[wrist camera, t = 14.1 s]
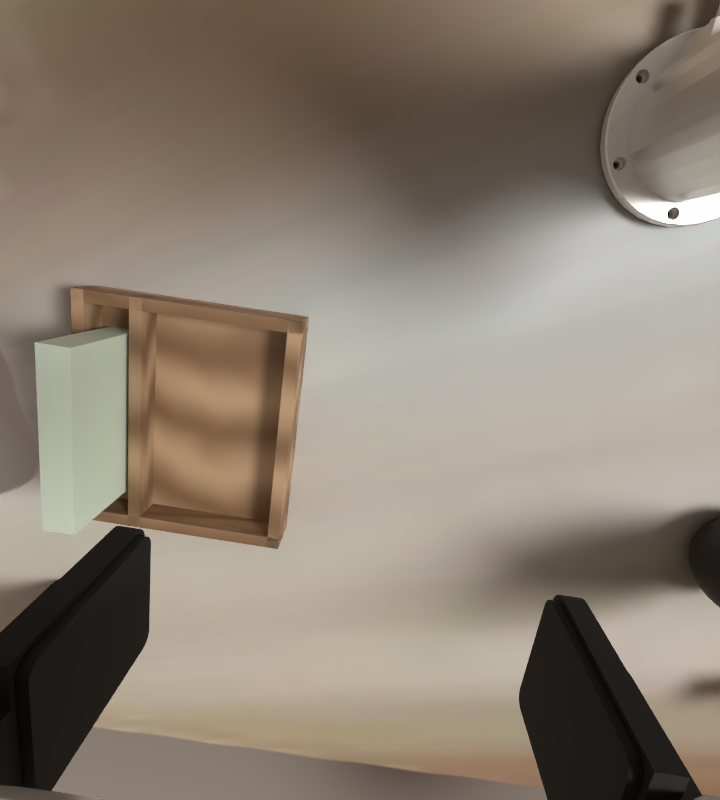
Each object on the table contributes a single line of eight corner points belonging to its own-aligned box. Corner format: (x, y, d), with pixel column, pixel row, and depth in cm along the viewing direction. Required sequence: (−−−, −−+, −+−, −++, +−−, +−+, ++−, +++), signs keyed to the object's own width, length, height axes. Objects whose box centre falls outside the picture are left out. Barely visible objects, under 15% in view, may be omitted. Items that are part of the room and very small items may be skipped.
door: (110, 325, 40) (33, 342, 31) (140, 330, 40) (70, 348, 31) (110, 477, 43) (40, 529, 35) (136, 481, 43) (74, 535, 35)
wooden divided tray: (90, 284, 40) (62, 286, 36) (308, 317, 39) (301, 321, 36) (94, 497, 45) (70, 516, 42) (286, 527, 45) (277, 548, 42)
